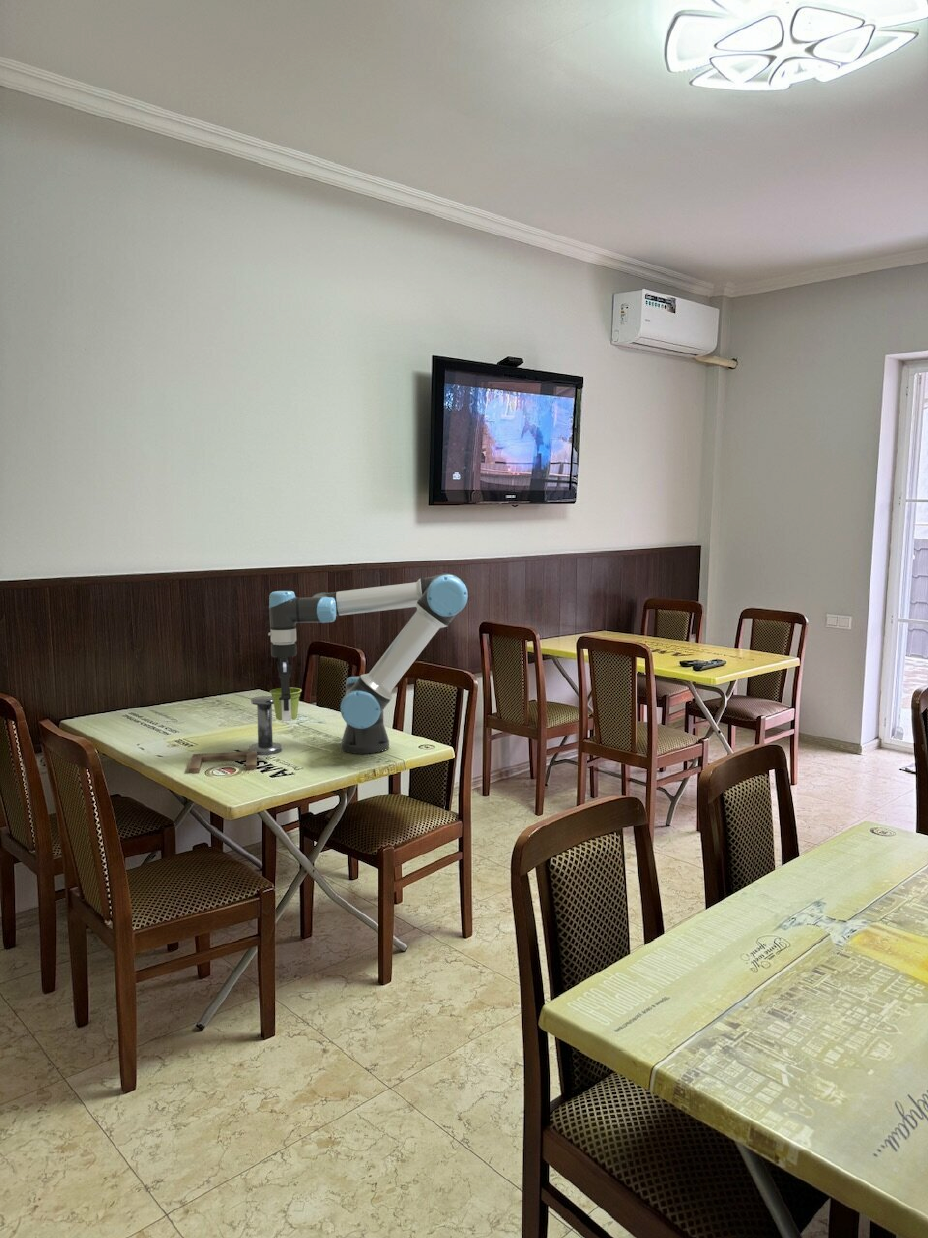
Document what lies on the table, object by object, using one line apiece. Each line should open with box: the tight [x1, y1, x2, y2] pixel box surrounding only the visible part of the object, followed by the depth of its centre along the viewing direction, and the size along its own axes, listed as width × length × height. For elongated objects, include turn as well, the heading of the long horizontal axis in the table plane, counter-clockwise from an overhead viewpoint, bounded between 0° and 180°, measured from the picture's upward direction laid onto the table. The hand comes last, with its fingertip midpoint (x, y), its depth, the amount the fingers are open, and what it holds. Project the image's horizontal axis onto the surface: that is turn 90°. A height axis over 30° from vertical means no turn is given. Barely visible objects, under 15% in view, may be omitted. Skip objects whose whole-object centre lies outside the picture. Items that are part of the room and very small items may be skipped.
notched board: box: [187, 750, 258, 774], centre depth 263 cm, size 19×16×2 cm
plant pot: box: [269, 687, 303, 722], centre depth 266 cm, size 9×9×9 cm
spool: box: [248, 695, 283, 756], centre depth 278 cm, size 10×10×17 cm
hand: (286, 717), depth 267 cm, fingers closed on plant pot, 8 cm apart
